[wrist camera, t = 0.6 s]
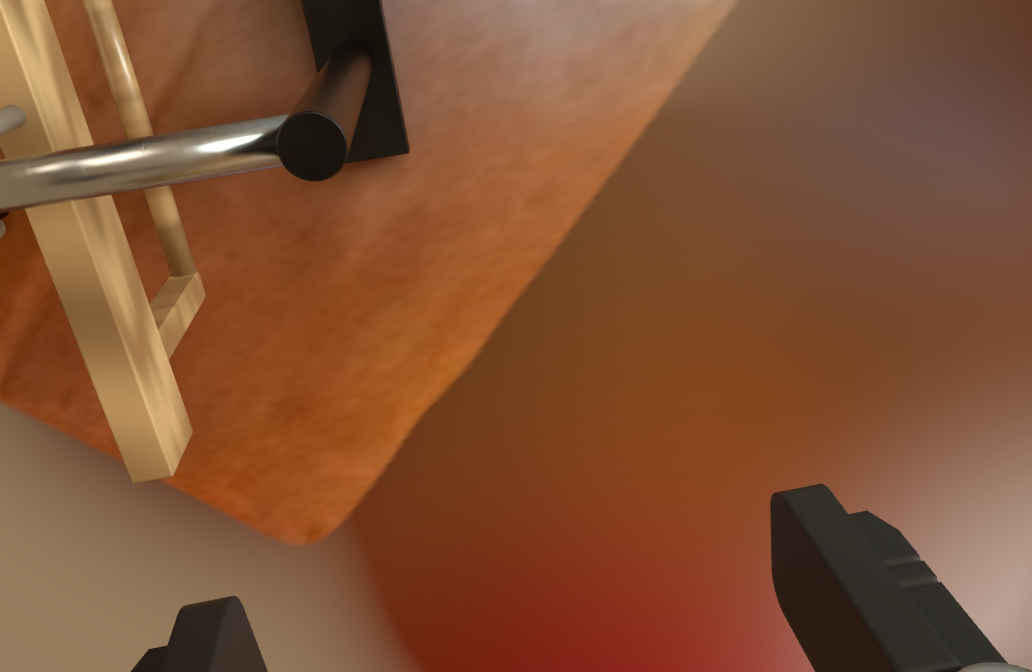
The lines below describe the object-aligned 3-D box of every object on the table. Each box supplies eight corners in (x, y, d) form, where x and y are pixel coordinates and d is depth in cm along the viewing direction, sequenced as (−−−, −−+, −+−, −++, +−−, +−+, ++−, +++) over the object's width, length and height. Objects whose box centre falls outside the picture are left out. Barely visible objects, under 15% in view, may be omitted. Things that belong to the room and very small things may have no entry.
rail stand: (-151, 25, 33) (-671, 98, 17) (370, -54, 34) (338, -55, 18) (-63, 225, 36) (-429, 442, 20) (409, 148, 37) (411, 297, 21)
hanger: (4, -235, 29) (-379, -408, 15) (46, -241, 29) (-294, -418, 15) (197, 356, 38) (75, 592, 24) (229, 350, 38) (126, 583, 24)
